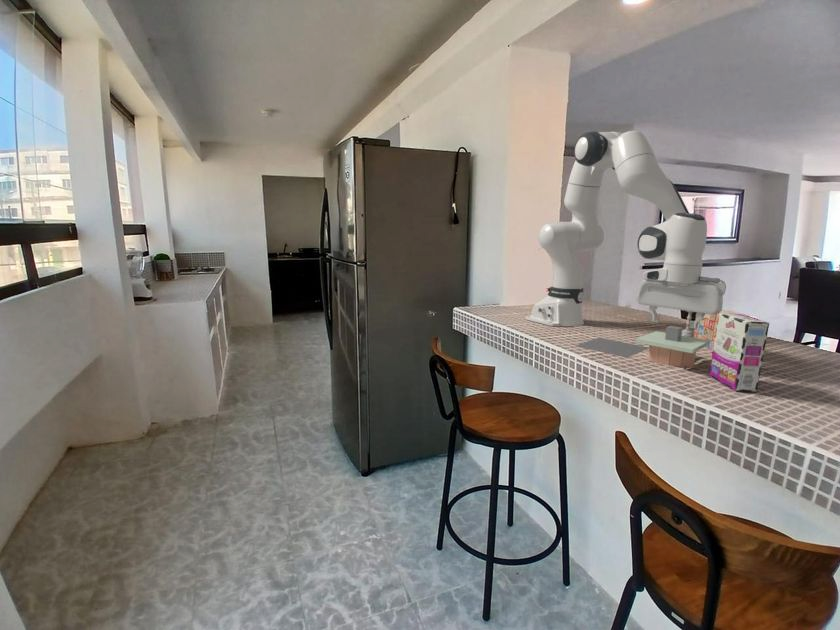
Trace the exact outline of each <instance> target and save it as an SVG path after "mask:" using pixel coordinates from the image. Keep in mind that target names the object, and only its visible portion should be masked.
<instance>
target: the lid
mask: <svg viewBox="0 0 840 630" xmlns="http://www.w3.org/2000/svg"><path fill="white" fill-rule="evenodd" d="M682 330H683V327H682V326H676V325H668V326H667V327H666V329H665V332H662V331H659V330H658V331H657V330H655V331H652V332H650V333H647V334H645V335H643V336H639V337H637V338H636V339H635V343H638V344H644V345H647V346H649V345H652V346H658V347H663V348H668V349H673V350H678V351H683V352H688V353H694V352H696V353H697V352H698V351H700V350H701V349H703V348H706V347H705V346H707V345H709V344H710V340H704V339H698V338H693V337H687V336H682Z"/></svg>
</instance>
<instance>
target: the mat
mask: <svg viewBox="0 0 840 630" xmlns="http://www.w3.org/2000/svg"><path fill="white" fill-rule="evenodd" d="M574 346H575V347H577V348H582V349H587V350H592V351H595V352H600V353H604V354H610V355H613V356H616V357H617V356H618V357H623V358H629V357H632V356H634V355H636V354H638V353H641V352H643V351H645V350H648V349H649V346H648V347H647V346H643V345H639V344H638V345H637V344H633V343H628V342H623V341H619V340H613V339H608V338H603V337H597V338H594V339H590V340H588V341H585V342H581V343H579V344H576V345H574Z"/></svg>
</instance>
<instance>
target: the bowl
mask: <svg viewBox="0 0 840 630" xmlns="http://www.w3.org/2000/svg"><path fill="white" fill-rule="evenodd" d="M648 347H649V348H648V349H647V351H648V352H647V358H648V360H650V362H651V361H652V362H654V363H656V364H660V365H664V366H670V367H681V368H685V369H691V367H692V368H693V367H695V363H696V355H697V351H696V352H694V353H688V352H683V351H678V350H673V349H668V348H663V347H658V346H652V345H648Z"/></svg>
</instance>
